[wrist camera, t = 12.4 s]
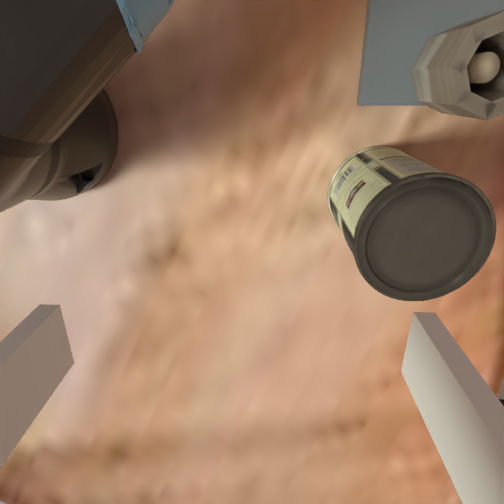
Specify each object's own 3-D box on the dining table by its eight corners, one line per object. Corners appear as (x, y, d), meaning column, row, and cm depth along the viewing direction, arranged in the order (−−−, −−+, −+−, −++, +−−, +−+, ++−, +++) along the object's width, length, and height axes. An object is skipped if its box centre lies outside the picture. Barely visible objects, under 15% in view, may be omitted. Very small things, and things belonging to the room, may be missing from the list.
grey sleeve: (421, 121, 36) (460, 130, 29) (405, 48, 34) (443, 37, 27) (494, 92, 35) (554, 94, 28) (483, 14, 33) (545, -7, 25)
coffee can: (412, 239, 43) (474, 305, 30) (322, 234, 43) (345, 298, 30) (434, 147, 38) (517, 177, 26) (334, 142, 39) (366, 170, 26)
